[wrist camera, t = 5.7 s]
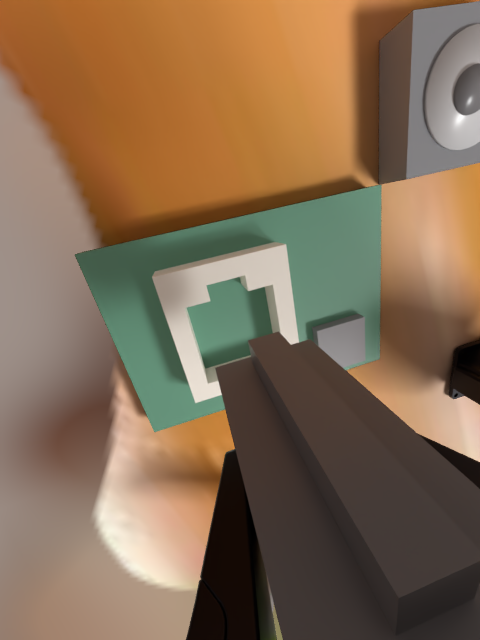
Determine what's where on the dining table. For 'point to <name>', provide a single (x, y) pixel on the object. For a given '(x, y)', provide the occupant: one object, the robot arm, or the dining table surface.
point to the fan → (430, 92)
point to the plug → (349, 504)
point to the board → (240, 296)
